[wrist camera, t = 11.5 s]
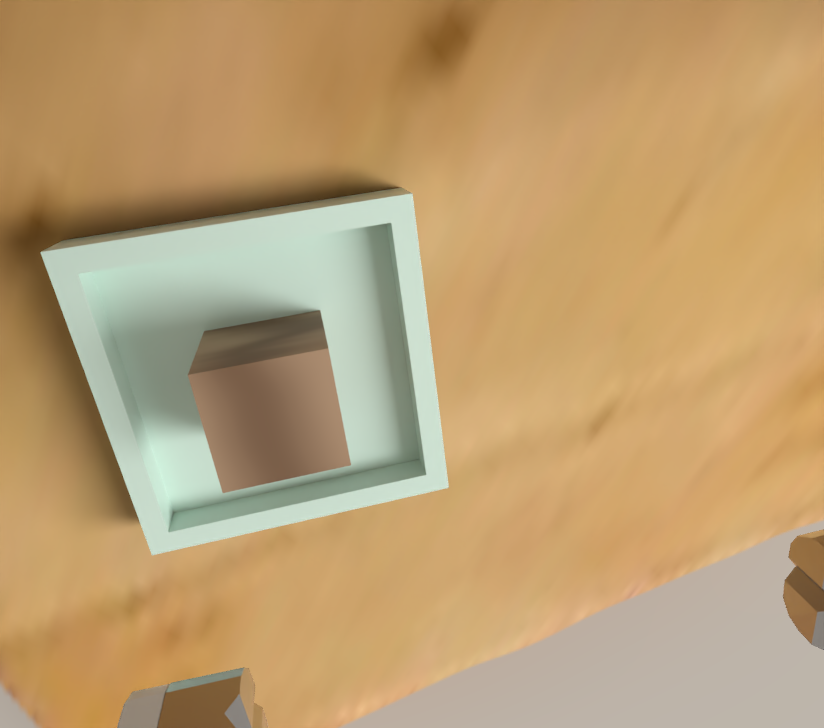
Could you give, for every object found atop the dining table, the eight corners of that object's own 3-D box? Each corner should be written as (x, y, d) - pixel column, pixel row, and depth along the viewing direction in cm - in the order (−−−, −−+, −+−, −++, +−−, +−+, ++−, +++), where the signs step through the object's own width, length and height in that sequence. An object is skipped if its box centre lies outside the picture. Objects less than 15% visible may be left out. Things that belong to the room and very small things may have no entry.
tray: (400, 187, 26) (412, 193, 24) (436, 461, 32) (448, 487, 29) (62, 240, 24) (40, 252, 22) (161, 522, 30) (152, 555, 28)
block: (320, 310, 27) (328, 348, 22) (339, 411, 28) (351, 465, 24) (204, 331, 26) (187, 375, 21) (232, 433, 28) (222, 493, 23)
